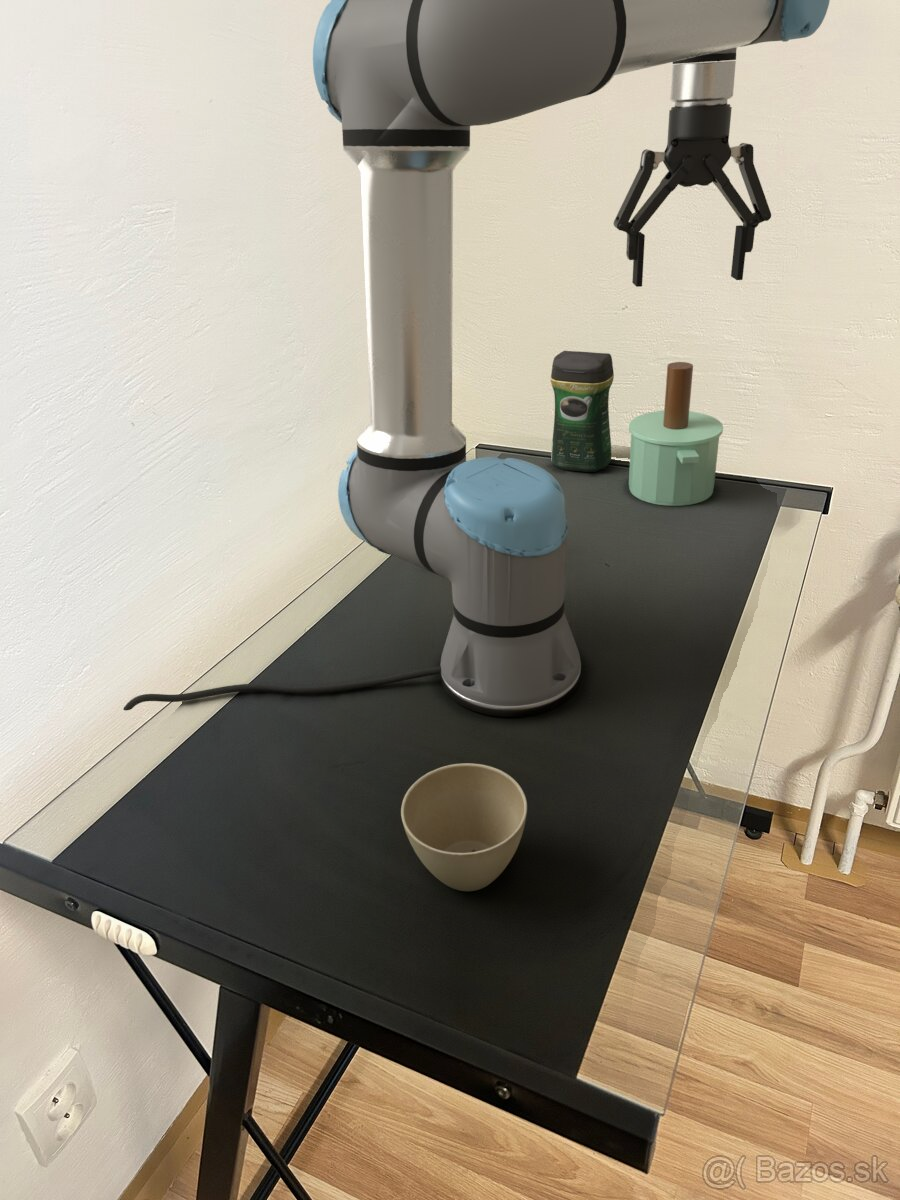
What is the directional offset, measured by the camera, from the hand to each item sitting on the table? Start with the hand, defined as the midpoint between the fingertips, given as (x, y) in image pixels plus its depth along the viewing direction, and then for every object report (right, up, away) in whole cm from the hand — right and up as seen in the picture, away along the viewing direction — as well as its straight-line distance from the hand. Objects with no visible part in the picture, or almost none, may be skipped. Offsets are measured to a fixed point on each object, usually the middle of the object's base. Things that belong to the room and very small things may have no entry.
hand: (686, 281), depth 120 cm
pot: (+2, -26, +16) cm, 31 cm away
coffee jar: (-11, -21, +26) cm, 35 cm away
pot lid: (+1, -18, +11) cm, 21 cm away
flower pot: (-31, -66, -47) cm, 87 cm away
